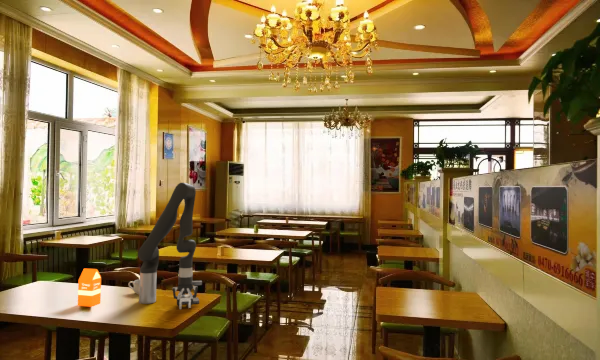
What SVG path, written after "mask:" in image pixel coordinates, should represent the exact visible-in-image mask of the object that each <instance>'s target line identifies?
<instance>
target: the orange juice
mask: <svg viewBox="0 0 600 360" xmlns="http://www.w3.org/2000/svg"><path fill="white" fill-rule="evenodd" d="M77 283H78V285H77V286H78V287H77V288H78V289H77V306H78V307H79V306H80V307H90V308H91V307H96V306H98V305H100V304H101V296H102V295H101V293H102V275H101V274H100V272H99V270H98V269H97V268H83V270H82V272H81V274H80V276H79V278H78V282H77Z"/></svg>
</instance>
